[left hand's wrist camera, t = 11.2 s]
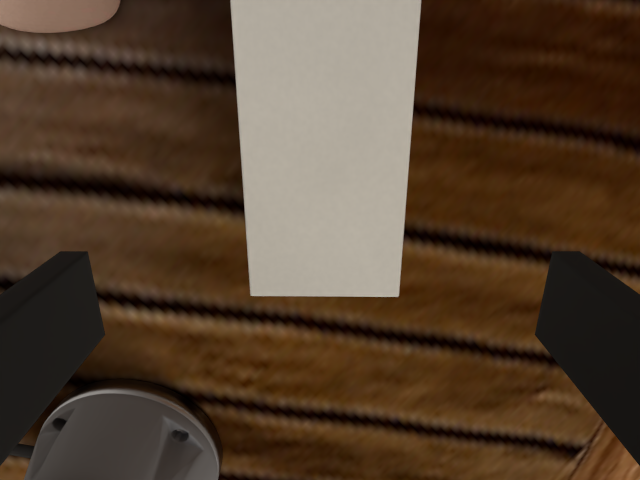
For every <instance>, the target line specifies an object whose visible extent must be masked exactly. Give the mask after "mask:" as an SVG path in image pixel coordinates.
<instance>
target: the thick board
mask: <svg viewBox="0 0 640 480" xmlns="http://www.w3.org/2000/svg"><path fill="white" fill-rule="evenodd" d="M230 3H231V18H232V32H233V47H234V62H235V76H236V91H237V106H238V120H239V135H240V149H241V164H242V179H243V193H244V208H245V223H246V237H247V252H248V267H249V281H250V295H251V296H363V297H398V296H399V287H400V274H401V261H402V248H403V234H404V221H405V208H406V195H407V182H408V168H409V155H410V142H411V129H412V116H413V102H414V89H415V76H416V63H417V50H418V36H419V23H420V10H421V0H230Z"/></svg>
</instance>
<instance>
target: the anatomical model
mask: <svg viewBox="0 0 640 480" xmlns="http://www.w3.org/2000/svg"><path fill="white" fill-rule="evenodd" d="M119 4H120V0H0V24H1V25H3V26H6V27H8V28H12V29H15V30H19V31H26V32H34V33H56V32H68V31H74V30H80V29H85V28H89V27H93V26H96V25H99V24H102V23H104V22H106V21H107V20H109V19H110V18H111V17H112V16H113V15H114V14H115V13H116V12H117V10H118V7H119Z"/></svg>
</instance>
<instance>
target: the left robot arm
mask: <svg viewBox="0 0 640 480" xmlns="http://www.w3.org/2000/svg"><path fill="white" fill-rule="evenodd" d="M104 335H105V332H104V327H103V322H102V318H101V313H100V308H99V303H98V299H97V294H96V289H95V284H94V280H93V275H92V270H91V265H90V261H89V256H88V252H59V253H58V254H56V255H55V256H53V257H52V258H51V259H49V260H48V261H47V262H45V263H44V264H42V265H41V266H40V267H38V268H37V269H35V270H34V271H33V272H31V273H30V274H28V275H27V276H26V277H24V278H23V279H21V280H20V281H19V282H17V283H16V284H14V285H13V286H12V287H10V288H9V289H7V290H6V291H5V292H3V293H2V294H0V465H1V464H2V463H3V462H4V460H5V459H6V458H7V457H8V455H15V456H20V457H26V458H31V460H30V463H29V466H28V469H27V472H26V475H25V478H24V480H218V477H219V473H220V469H221V465H222V458H223V452H222V445H221V441H220V438H219V435H218V433H217V431H216V429H215V427H214V425H213V424H212V422H211V421H210V420H209V418H208V417H207V416H206V415H205V414H204V413H203V412H202V411H201V410H200V409H199V408H198V407H197V406H196V405H195V404H193V403H192V402H191V401H189V400H188V399H186V398H185V397H183V396H181V395H180V394H178V393H176V392H174V391H172V390H170V389H167V388H165V387H162V386H159V385H156V384H153V383H149V382H144V381H139V380H131V379H111V380H103V381H98V382H94V383H91V384H88V385H85V386H83V387H80V388H79V389H77V390H75V391H73V392H72V393H70V394H69V395H68V396H66V397H65V398H64V399H63V400H62V401H61V402H60V403H59V404H58V406H57V407H56V408H55V410H54V411H53V412H52V413H51V415H50V416H49V417H48V419H47V420H46V421H45V423H44V424H43V426H42V429H41V431H40V433H39V436H38V438H37V441H36V444H35V446H29V445H23V444H18V443H19V442H20V440H21V439H22V438H23V437H24V435H25V434H26V433H27V432H28V430H29V429H30V428H31V427H32V425H33V424H34V423H35V422H36V420H37V419H38V418H39V417H40V415H41V414H42V413H43V412H44V410H45V409H46V408H47V407H48V405H49V404H50V403H51V402H52V400H53V399H54V398H55V397H56V395H57V394H58V393H59V392H60V390H61V389H62V388H63V387H64V385H65V384H66V383H67V382H68V380H69V379H70V378H71V377H72V375H73V374H74V373H75V372H76V370H77V369H78V368H79V367H80V365H81V364H82V363H83V362H84V360H85V359H86V358H87V357H88V355H89V354H90V353H91V352H92V350H93V349H94V348H95V347H96V345H97V344H98V343H99V342H100V340H101V339H102V338H103V337H104ZM535 335H536V337H537V338H538V339H539V340H540V342H541V343H542V344H543V345H544V347H545V348H546V349H547V350H548V352H549V353H550V354H551V355H552V357H553V358H554V359H555V360H556V362H557V363H558V364H559V365H560V367H561V368H562V369H563V370H564V372H565V373H566V374H567V375H568V377H569V378H570V379H571V380H572V382H573V383H574V384H575V385H576V387H577V388H578V389H579V390H580V392H581V393H582V394H583V395H584V397H585V398H586V399H587V400H588V402H589V403H590V404H591V405H592V407H593V408H594V409H595V410H596V412H597V413H598V414H599V415H600V417H601V418H602V419H603V420H604V422H605V423H606V424H607V425H608V427H609V428H610V429H611V430H612V432H613V433H614V434H615V435H616V437H617V438H618V439H619V440H620V442H621V443H622V444H623V445H624V447H625V448H626V449H627V450H628V452H629V453H630V454H631V455H632V457H633V458H634V459H635V460H636V462H637V463H638V464H639V465H640V294H638V293H637V292H635V291H634V290H633V289H631V288H630V287H628V286H627V285H626V284H624V283H623V282H621V281H620V280H619V279H617V278H616V277H614V276H613V275H612V274H610V273H609V272H607V271H606V270H605V269H603V268H602V267H600V266H599V265H598V264H596V263H595V262H593V261H592V260H591V259H589V258H588V257H587V256H585V255H584V254H582V253H581V252H552V256H551V261H550V265H549V270H548V275H547V280H546V284H545V289H544V294H543V299H542V303H541V308H540V313H539V318H538V322H537V327H536V332H535Z"/></svg>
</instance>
